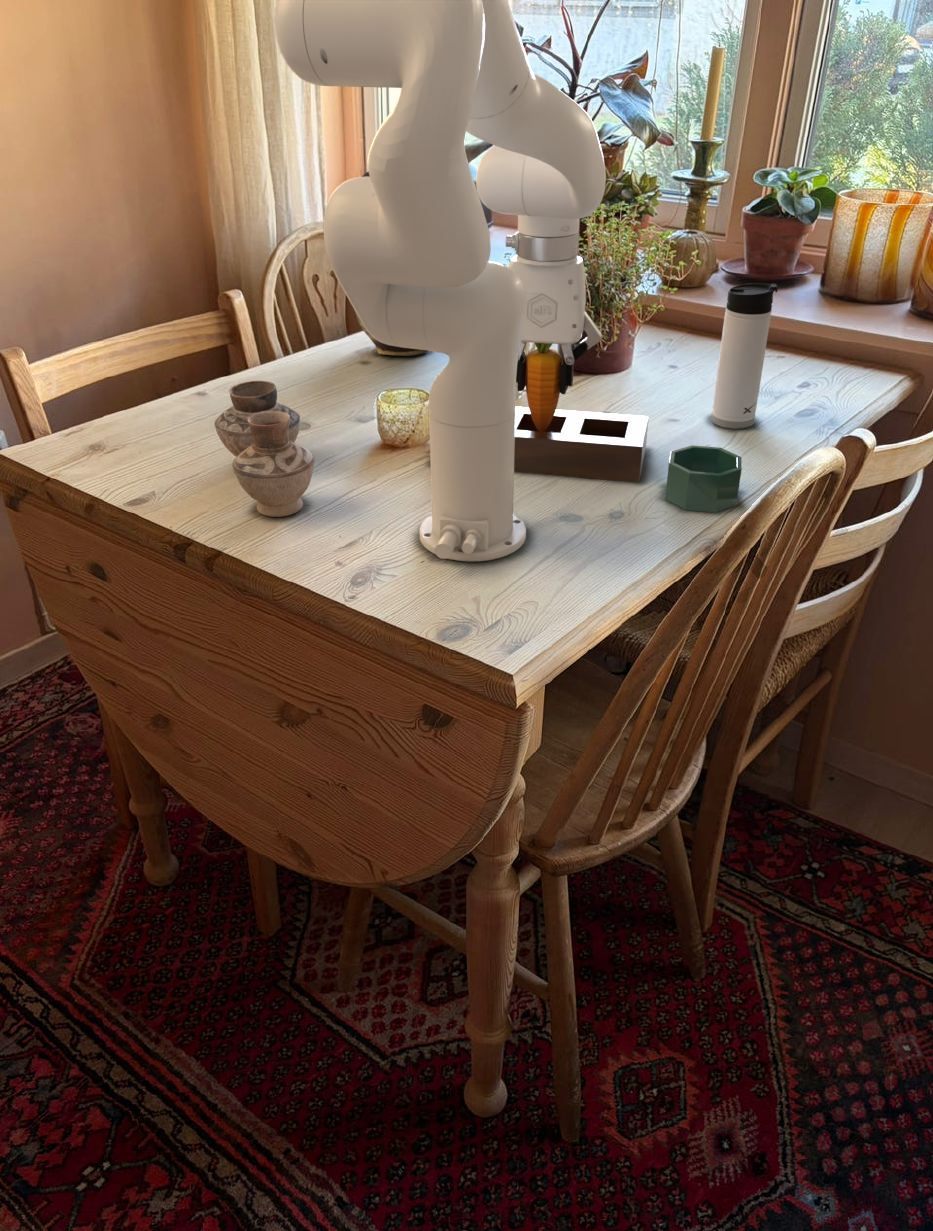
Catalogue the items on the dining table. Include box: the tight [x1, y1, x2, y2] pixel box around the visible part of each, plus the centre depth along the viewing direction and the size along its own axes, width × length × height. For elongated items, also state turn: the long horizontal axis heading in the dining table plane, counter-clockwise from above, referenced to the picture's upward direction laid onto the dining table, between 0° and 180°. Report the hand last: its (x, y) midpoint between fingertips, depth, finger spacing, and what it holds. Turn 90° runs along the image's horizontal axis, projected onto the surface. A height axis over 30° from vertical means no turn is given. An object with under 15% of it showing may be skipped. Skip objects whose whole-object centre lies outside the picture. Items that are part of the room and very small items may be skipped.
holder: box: [664, 444, 743, 513], centre depth 125 cm, size 9×9×5 cm
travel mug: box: [710, 282, 779, 430], centre depth 142 cm, size 6×7×20 cm
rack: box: [514, 406, 650, 483], centre depth 135 cm, size 11×28×5 cm, turn 77°
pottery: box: [214, 380, 315, 518], centre depth 127 cm, size 11×25×12 cm, turn 19°
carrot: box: [525, 343, 563, 432], centre depth 131 cm, size 5×5×15 cm
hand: (543, 387), depth 132 cm, fingers closed on carrot, 5 cm apart
